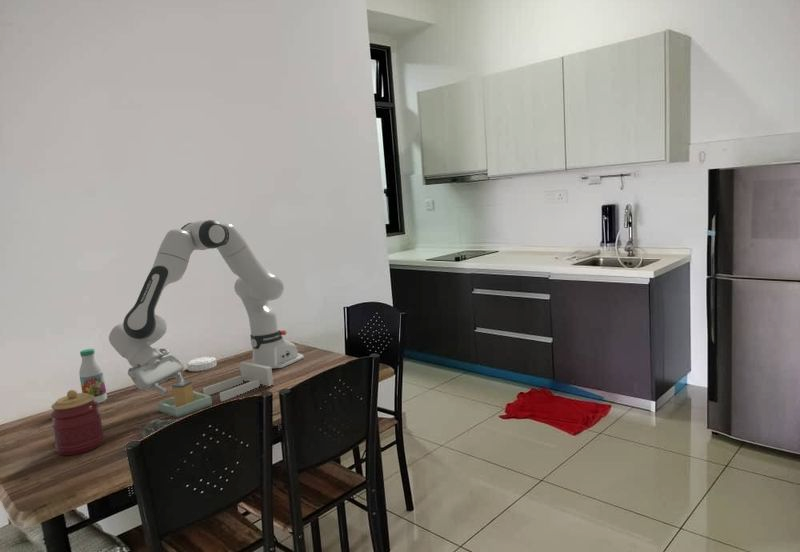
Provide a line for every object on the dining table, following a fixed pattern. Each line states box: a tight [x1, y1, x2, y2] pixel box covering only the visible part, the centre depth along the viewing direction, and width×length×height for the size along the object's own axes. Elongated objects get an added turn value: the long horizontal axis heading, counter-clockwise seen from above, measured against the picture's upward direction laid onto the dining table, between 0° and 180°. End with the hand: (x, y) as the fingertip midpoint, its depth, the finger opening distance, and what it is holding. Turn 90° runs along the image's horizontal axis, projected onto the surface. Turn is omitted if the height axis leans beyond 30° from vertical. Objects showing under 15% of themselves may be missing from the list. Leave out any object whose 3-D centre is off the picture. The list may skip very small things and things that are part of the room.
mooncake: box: [186, 356, 217, 372], centre depth 247 cm, size 12×12×4 cm
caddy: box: [171, 380, 194, 407], centre depth 195 cm, size 4×4×8 cm
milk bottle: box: [78, 348, 108, 404], centre depth 211 cm, size 8×8×20 cm
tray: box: [157, 390, 213, 419], centre depth 196 cm, size 13×13×3 cm
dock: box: [202, 361, 275, 402], centre depth 210 cm, size 20×18×7 cm
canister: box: [49, 389, 106, 456], centre depth 169 cm, size 13×13×18 cm
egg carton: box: [137, 417, 181, 439], centre depth 174 cm, size 11×8×4 cm
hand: (174, 388), depth 196 cm, fingers open, 8 cm apart
